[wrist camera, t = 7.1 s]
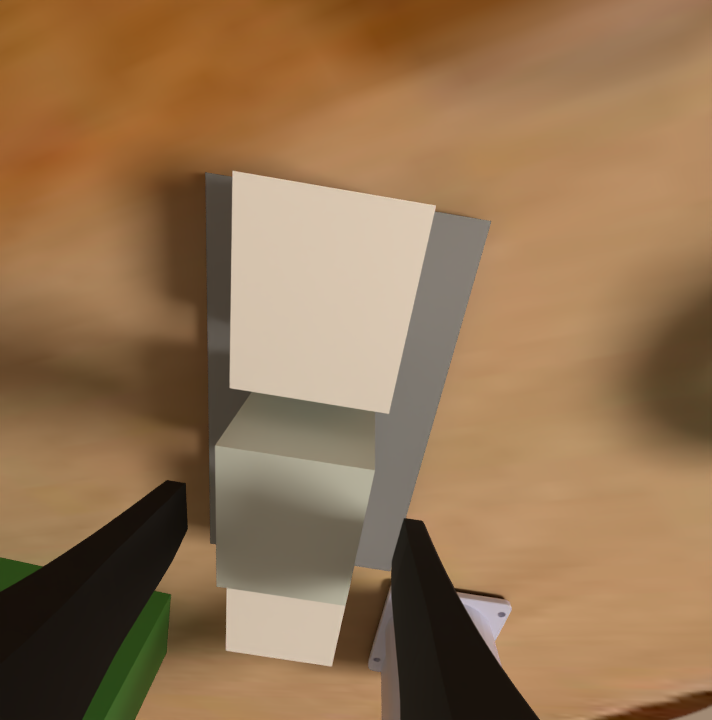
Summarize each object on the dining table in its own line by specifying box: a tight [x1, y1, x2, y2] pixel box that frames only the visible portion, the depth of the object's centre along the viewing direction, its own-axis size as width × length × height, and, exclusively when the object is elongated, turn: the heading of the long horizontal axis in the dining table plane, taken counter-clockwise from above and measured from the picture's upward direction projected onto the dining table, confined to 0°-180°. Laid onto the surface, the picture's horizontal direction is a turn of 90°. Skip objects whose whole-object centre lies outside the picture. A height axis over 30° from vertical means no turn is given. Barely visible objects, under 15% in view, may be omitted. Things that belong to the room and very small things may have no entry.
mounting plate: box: [205, 171, 491, 666], centre depth 15 cm, size 20×11×6 cm, turn 171°
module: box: [215, 392, 375, 606], centre depth 14 cm, size 6×5×6 cm
